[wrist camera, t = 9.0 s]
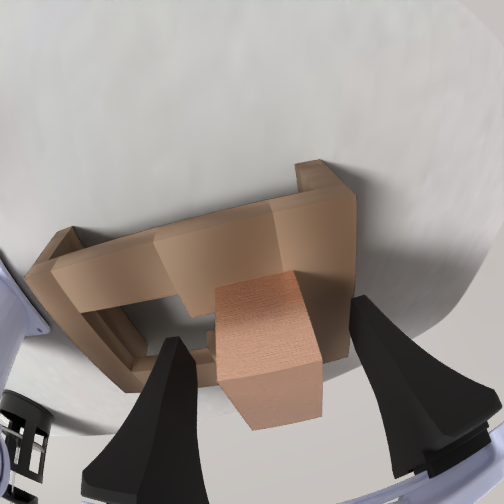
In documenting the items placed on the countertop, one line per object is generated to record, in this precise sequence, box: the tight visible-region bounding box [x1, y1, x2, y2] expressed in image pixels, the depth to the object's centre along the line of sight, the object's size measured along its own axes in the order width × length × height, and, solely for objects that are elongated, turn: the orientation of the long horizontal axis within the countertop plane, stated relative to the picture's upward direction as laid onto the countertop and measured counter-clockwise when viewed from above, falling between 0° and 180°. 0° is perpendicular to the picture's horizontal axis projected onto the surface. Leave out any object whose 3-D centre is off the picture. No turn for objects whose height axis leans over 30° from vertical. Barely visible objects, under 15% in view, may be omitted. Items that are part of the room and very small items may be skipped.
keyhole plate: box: [24, 159, 357, 393], centre depth 14 cm, size 14×10×4 cm
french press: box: [0, 390, 54, 504], centre depth 18 cm, size 12×9×23 cm
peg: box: [215, 270, 323, 430], centre depth 12 cm, size 4×5×7 cm
